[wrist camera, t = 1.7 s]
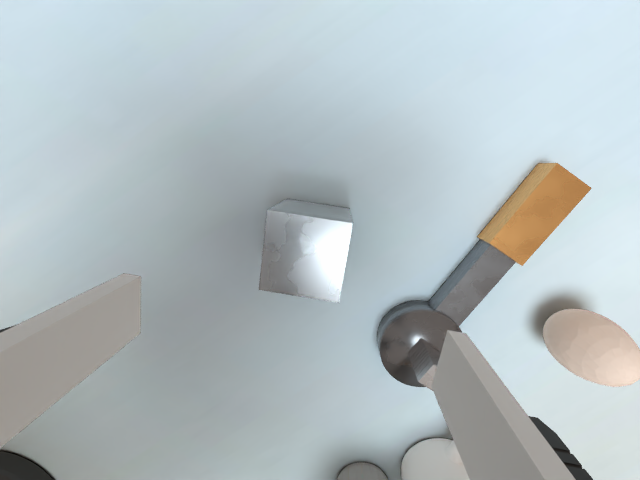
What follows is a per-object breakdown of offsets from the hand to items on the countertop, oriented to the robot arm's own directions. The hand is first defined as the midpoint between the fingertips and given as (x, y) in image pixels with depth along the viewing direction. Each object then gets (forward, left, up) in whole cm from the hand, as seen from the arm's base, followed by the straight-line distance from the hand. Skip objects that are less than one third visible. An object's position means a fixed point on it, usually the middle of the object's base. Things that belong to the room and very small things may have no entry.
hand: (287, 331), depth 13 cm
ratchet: (+15, -1, -17) cm, 23 cm away
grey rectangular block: (0, 0, -17) cm, 17 cm away
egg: (+25, -5, -17) cm, 30 cm away
